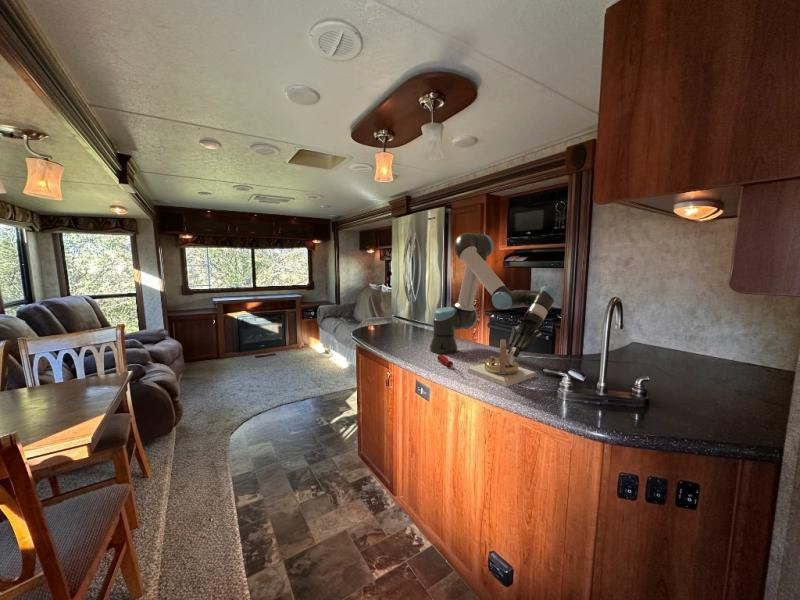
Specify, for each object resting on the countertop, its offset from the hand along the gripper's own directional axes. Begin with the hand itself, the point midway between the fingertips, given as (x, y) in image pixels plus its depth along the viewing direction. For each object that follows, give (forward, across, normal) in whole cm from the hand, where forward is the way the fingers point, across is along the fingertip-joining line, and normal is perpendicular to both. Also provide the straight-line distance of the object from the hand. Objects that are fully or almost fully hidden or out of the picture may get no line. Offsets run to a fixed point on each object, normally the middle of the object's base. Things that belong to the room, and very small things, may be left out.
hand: (508, 362), depth 127 cm
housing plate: (+2, +8, -11) cm, 14 cm away
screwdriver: (+11, +26, -2) cm, 28 cm away
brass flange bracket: (+2, +6, -7) cm, 9 cm away
